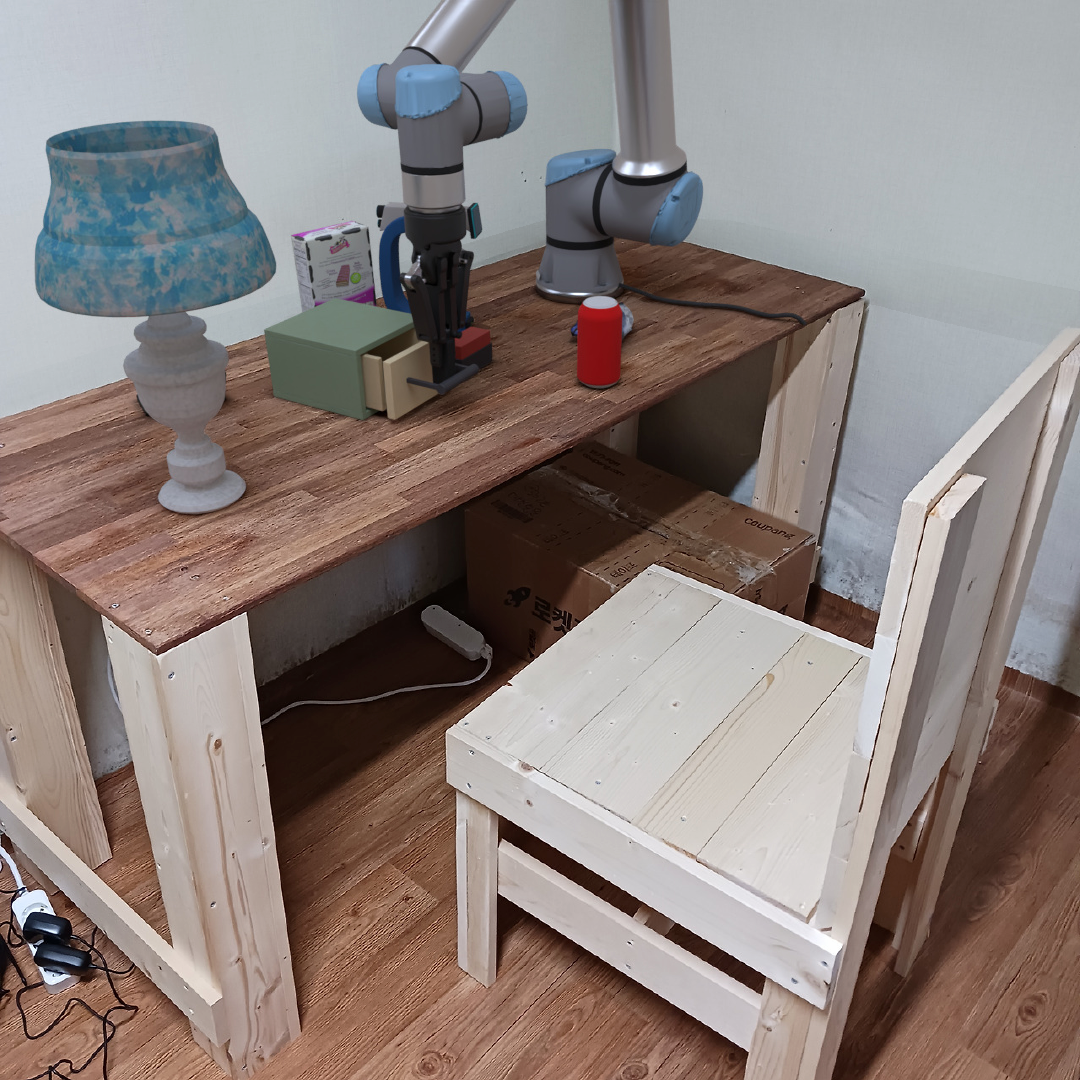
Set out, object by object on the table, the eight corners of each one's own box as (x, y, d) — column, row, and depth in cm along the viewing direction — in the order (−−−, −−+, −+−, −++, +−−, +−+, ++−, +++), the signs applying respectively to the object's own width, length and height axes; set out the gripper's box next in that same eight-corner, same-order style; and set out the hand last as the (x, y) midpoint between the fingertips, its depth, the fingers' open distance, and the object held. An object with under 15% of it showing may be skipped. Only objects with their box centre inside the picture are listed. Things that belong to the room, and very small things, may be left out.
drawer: (491, 393, 147) (490, 338, 143) (434, 430, 137) (430, 373, 133) (371, 364, 156) (366, 312, 152) (309, 397, 146) (302, 342, 142)
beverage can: (627, 379, 153) (630, 298, 147) (608, 394, 148) (610, 311, 142) (589, 371, 156) (590, 291, 149) (569, 386, 151) (569, 304, 145)
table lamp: (214, 433, 139) (153, 105, 118) (349, 482, 127) (308, 128, 106) (51, 509, 122) (-53, 143, 101) (189, 573, 111) (103, 175, 90)
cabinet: (428, 382, 153) (423, 316, 148) (362, 420, 142) (355, 350, 137) (342, 361, 160) (335, 297, 155) (273, 396, 149) (263, 329, 144)
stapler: (473, 357, 161) (472, 325, 158) (492, 361, 159) (491, 329, 157) (443, 375, 155) (441, 342, 152) (462, 379, 153) (461, 347, 151)
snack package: (662, 341, 166) (618, 317, 174) (660, 303, 162) (614, 281, 170) (600, 369, 162) (557, 344, 170) (595, 331, 158) (552, 307, 166)
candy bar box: (363, 320, 175) (352, 219, 166) (380, 328, 171) (370, 225, 163) (303, 337, 168) (289, 233, 160) (319, 346, 165) (306, 239, 156)
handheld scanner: (479, 335, 168) (475, 208, 158) (382, 329, 171) (372, 204, 161) (486, 326, 172) (483, 201, 162) (391, 320, 175) (382, 197, 165)
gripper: (440, 190, 136) (449, 364, 148) (376, 213, 126) (391, 397, 138) (489, 197, 132) (495, 375, 145) (427, 221, 123) (439, 409, 135)
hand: (444, 386), depth 141 cm, fingers closed
